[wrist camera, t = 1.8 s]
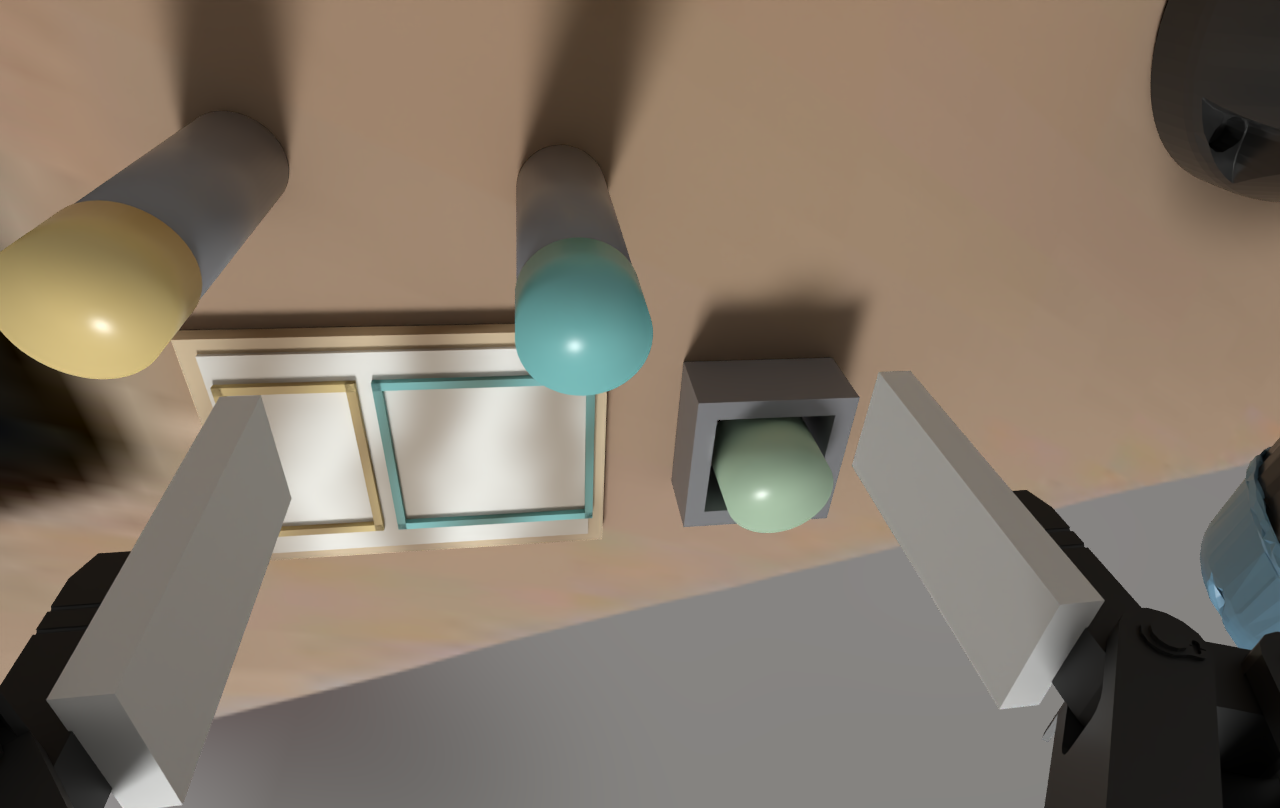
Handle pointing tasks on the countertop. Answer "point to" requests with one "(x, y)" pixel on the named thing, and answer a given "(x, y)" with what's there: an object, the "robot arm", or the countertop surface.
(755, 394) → the button housing
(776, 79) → the countertop surface
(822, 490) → the button
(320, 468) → the double window tray
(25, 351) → the ochre marker
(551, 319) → the teal marker
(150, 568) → the robot arm
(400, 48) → the countertop surface
